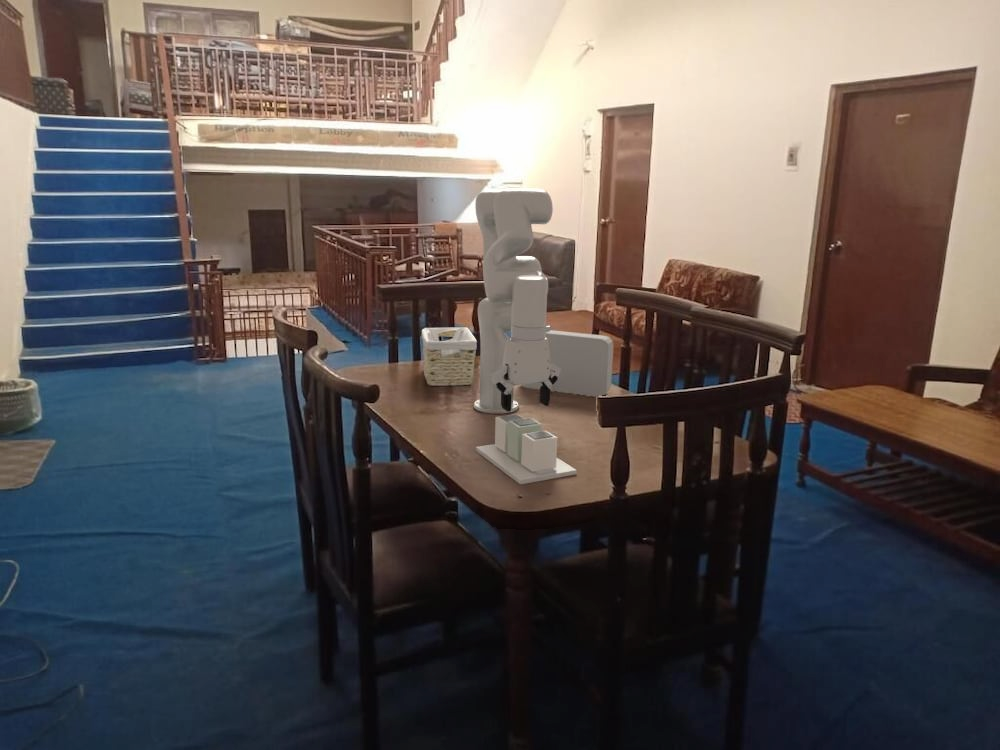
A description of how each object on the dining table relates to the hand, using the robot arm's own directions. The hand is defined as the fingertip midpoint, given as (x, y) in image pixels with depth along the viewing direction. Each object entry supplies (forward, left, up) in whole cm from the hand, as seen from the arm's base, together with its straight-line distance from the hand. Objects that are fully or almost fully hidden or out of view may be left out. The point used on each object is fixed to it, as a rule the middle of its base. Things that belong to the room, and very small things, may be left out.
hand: (525, 407), depth 165 cm
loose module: (0, 0, -12) cm, 12 cm away
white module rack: (+1, 0, -13) cm, 13 cm away
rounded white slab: (-48, +40, -13) cm, 64 cm away
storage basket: (-75, +13, -13) cm, 78 cm away
